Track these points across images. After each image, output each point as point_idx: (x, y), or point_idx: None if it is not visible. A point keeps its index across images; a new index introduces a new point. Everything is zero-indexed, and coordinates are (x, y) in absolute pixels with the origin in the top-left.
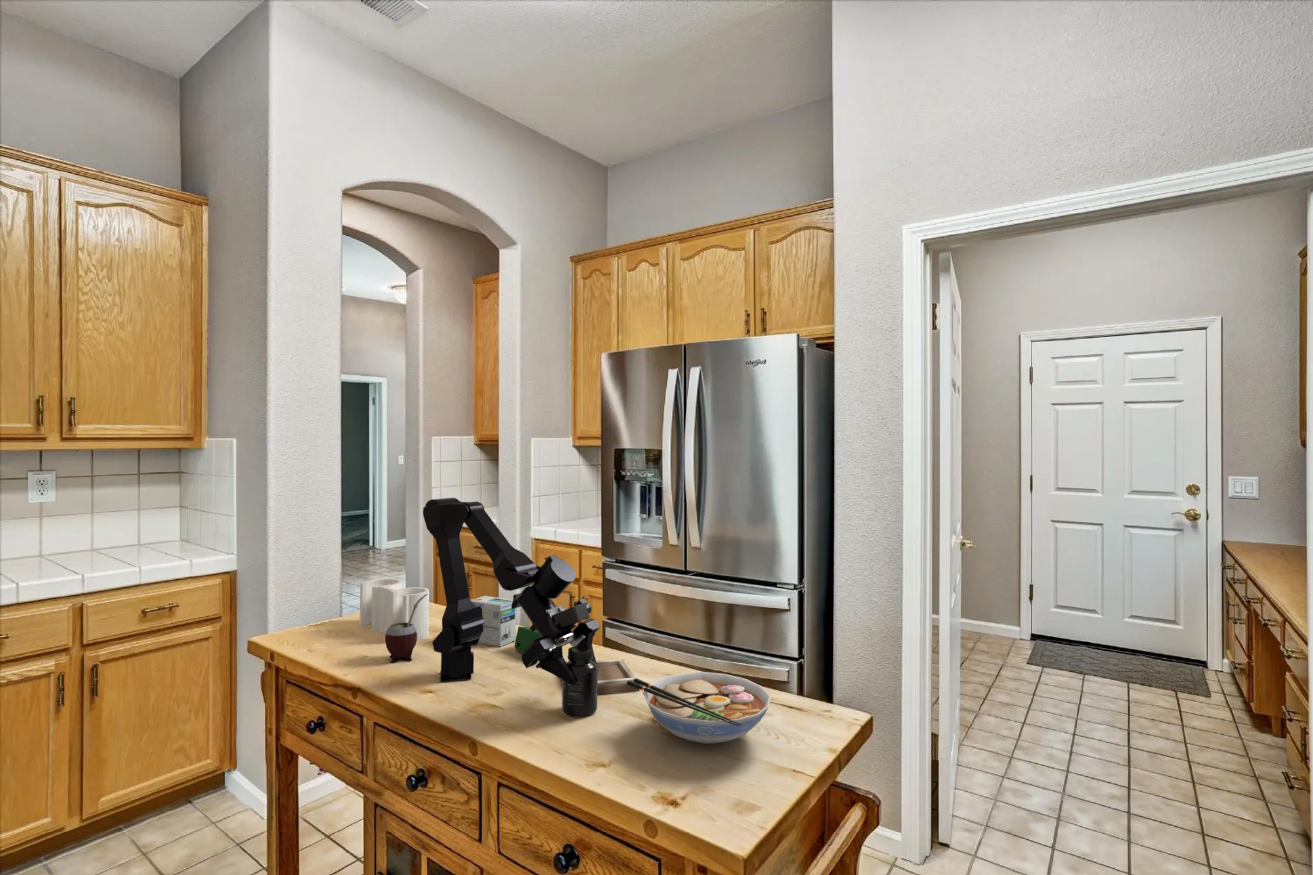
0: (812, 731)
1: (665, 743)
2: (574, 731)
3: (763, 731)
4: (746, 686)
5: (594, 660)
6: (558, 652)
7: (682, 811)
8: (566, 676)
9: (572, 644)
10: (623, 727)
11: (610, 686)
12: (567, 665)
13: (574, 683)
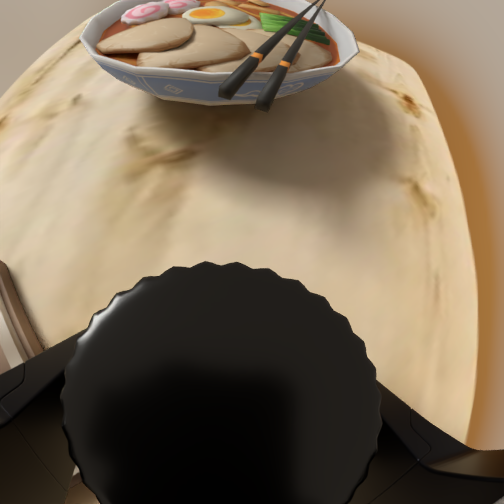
0: None
1: (284, 115)
2: (350, 316)
3: None
4: (128, 7)
5: (69, 349)
6: (500, 458)
7: (411, 93)
8: None
9: None
10: (259, 205)
11: (27, 340)
12: (387, 415)
13: None
